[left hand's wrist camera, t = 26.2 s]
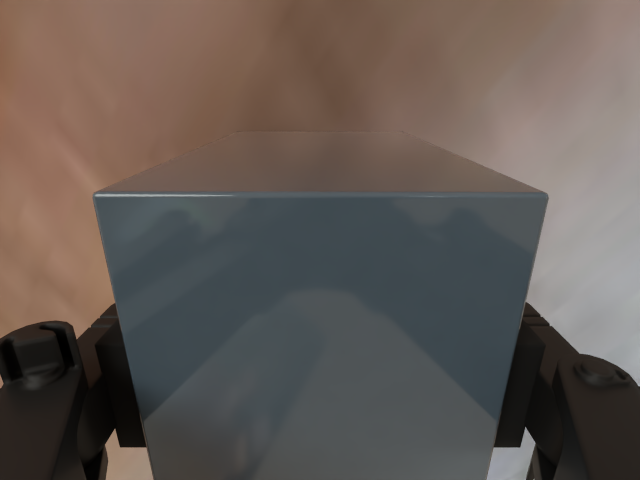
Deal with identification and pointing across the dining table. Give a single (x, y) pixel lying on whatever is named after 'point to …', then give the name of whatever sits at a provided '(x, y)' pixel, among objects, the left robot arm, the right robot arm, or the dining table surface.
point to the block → (320, 305)
